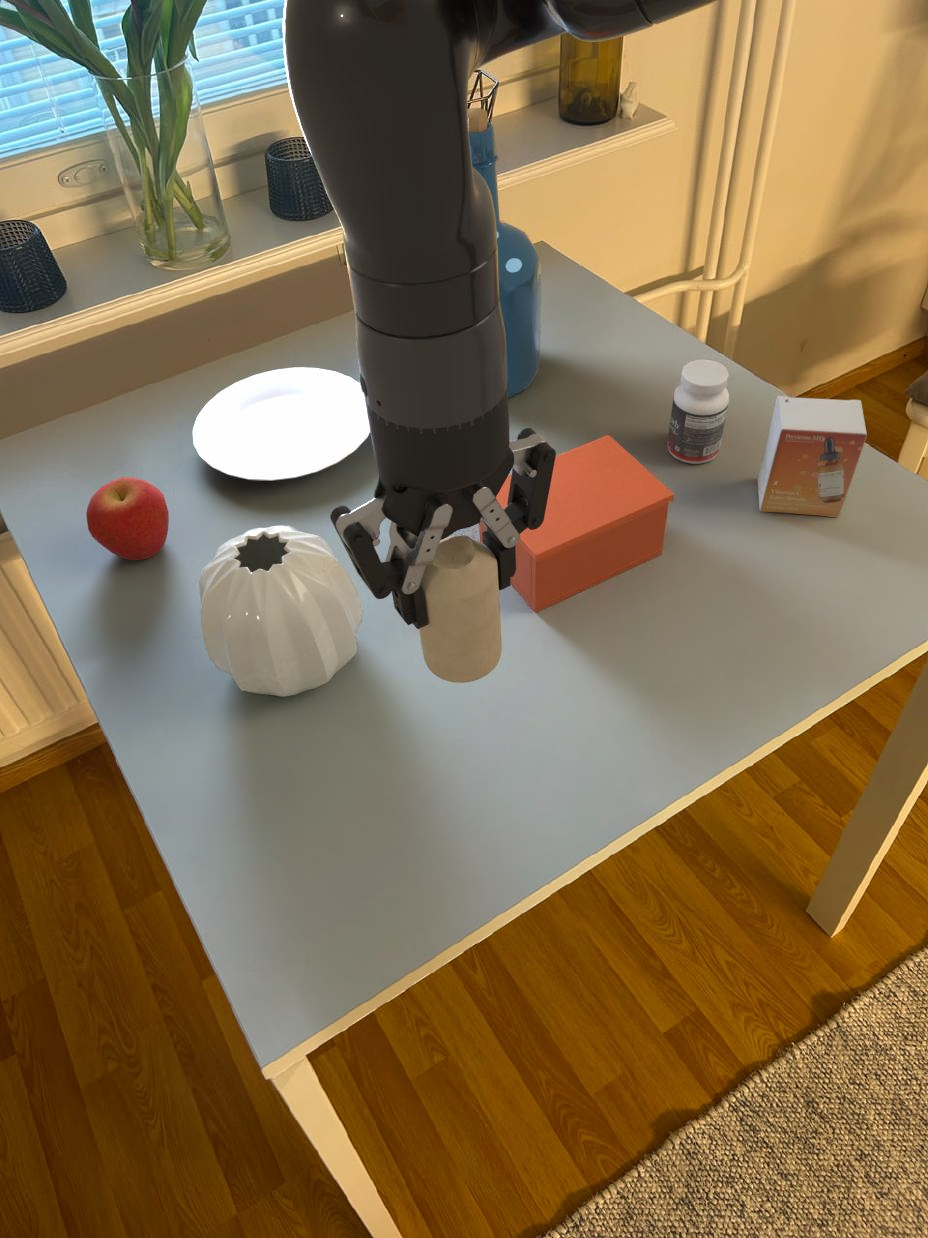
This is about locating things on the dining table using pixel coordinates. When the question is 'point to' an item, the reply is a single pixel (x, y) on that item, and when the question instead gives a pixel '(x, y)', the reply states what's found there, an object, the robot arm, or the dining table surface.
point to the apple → (129, 518)
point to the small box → (810, 455)
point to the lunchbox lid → (590, 496)
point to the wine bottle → (511, 267)
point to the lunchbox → (588, 559)
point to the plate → (282, 424)
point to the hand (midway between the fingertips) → (457, 598)
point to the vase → (278, 611)
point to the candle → (461, 611)
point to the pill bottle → (698, 412)
